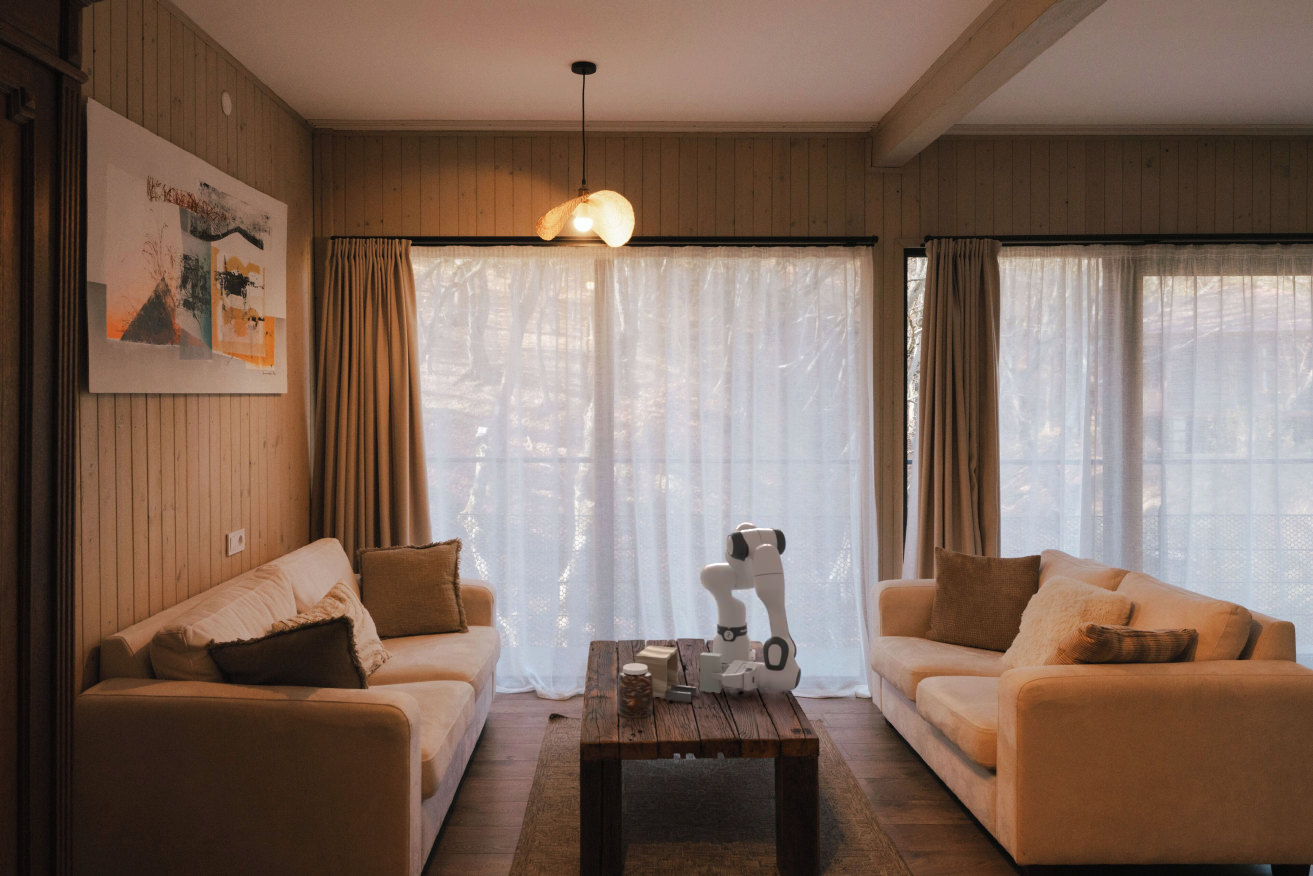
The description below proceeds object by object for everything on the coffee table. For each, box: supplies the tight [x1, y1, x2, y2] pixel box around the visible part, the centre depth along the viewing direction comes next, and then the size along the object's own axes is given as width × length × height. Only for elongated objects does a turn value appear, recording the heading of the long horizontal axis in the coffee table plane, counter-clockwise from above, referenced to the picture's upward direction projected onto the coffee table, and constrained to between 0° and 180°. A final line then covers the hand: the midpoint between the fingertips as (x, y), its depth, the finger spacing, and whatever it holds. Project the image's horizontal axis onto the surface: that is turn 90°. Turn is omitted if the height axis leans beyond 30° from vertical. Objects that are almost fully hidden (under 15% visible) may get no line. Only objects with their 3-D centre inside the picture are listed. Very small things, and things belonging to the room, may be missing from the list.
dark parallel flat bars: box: [664, 684, 697, 703], centre depth 290 cm, size 8×9×3 cm
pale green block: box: [699, 651, 723, 694], centre depth 297 cm, size 4×7×13 cm, turn 72°
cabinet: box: [635, 645, 679, 699], centre depth 297 cm, size 14×11×14 cm
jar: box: [617, 662, 654, 719], centre depth 275 cm, size 12×12×15 cm
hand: (714, 671), depth 297 cm, fingers open, 8 cm apart
